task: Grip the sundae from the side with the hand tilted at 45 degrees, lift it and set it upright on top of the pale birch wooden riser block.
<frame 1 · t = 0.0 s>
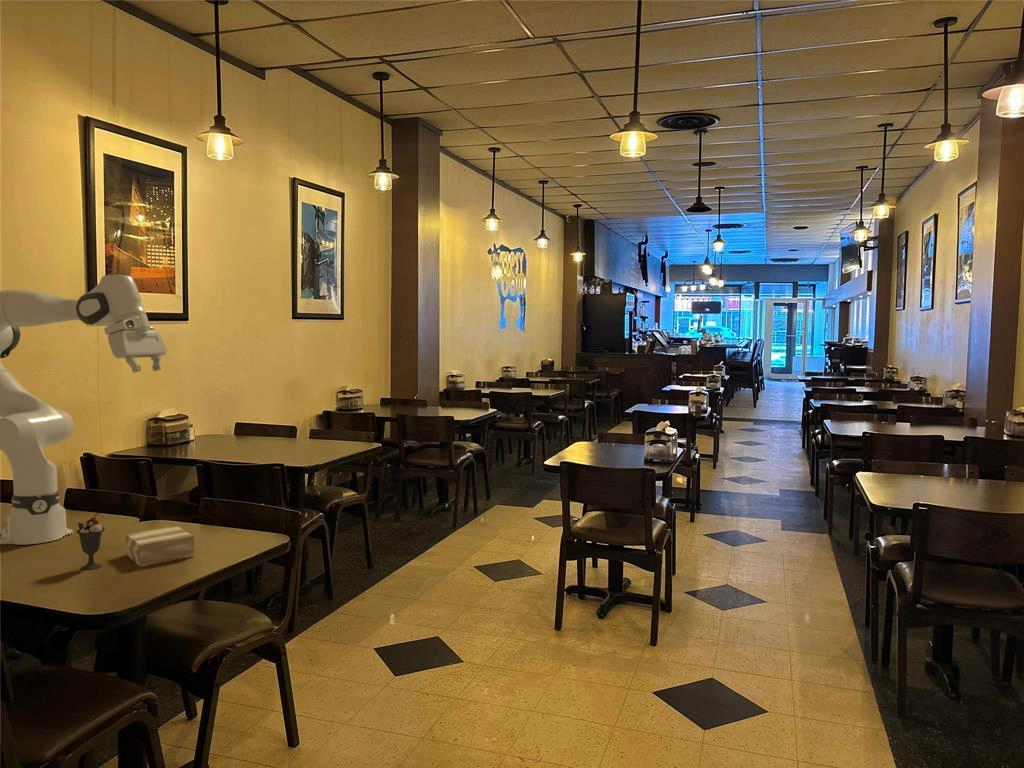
hand: (147, 371, 211), 52 cm above the table, tool tilted 20°, fingers open, 8 cm apart
riser: (159, 555, 204), on the table
sundae: (91, 567, 193), on the table
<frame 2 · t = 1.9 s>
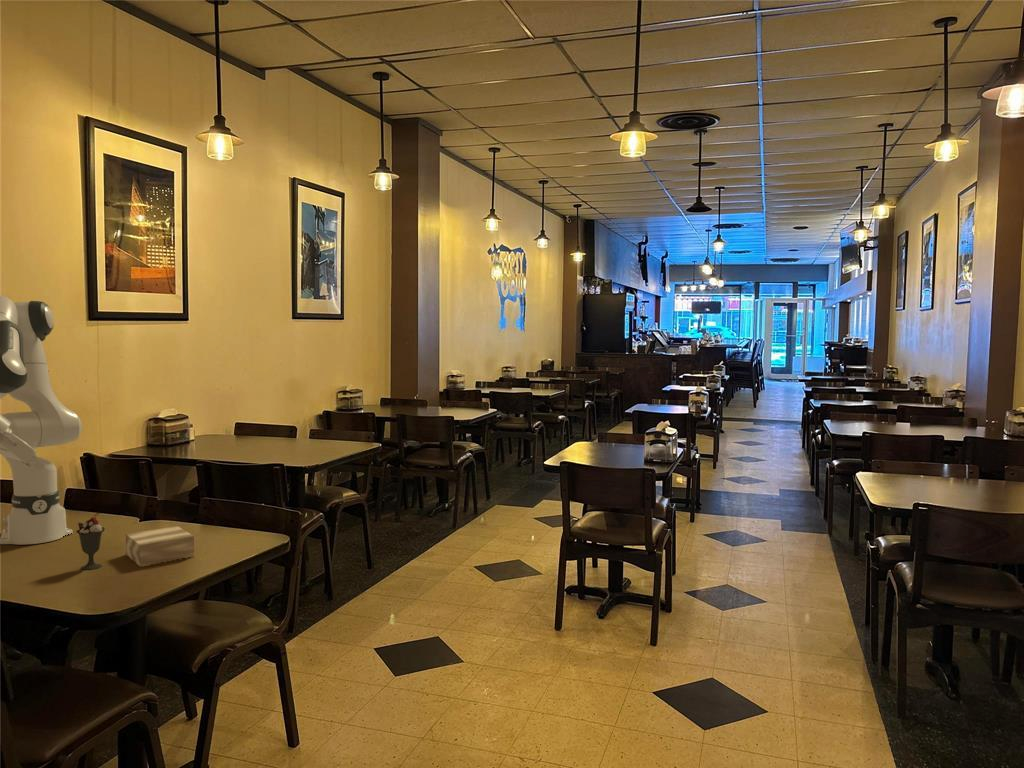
hand: (36, 466, 185), 28 cm above the table, tool tilted 45°, fingers open, 8 cm apart
nothing on the table moved.
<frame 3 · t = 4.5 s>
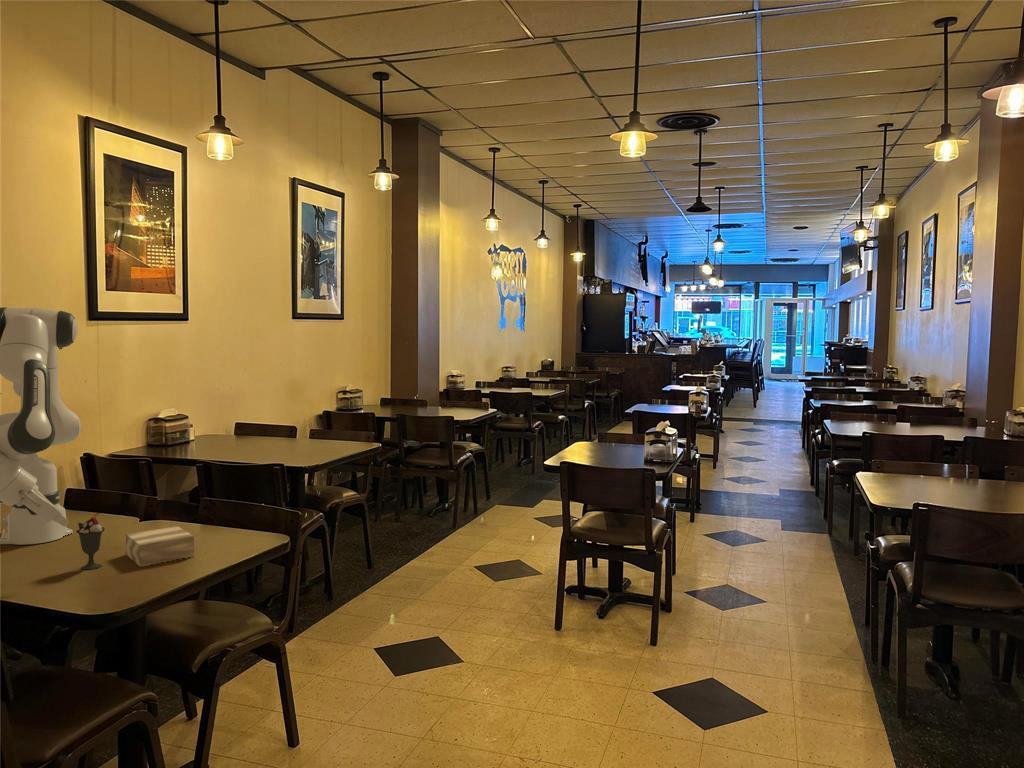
hand: (63, 520, 188), 14 cm above the table, tool tilted 45°, fingers open, 8 cm apart
nothing on the table moved.
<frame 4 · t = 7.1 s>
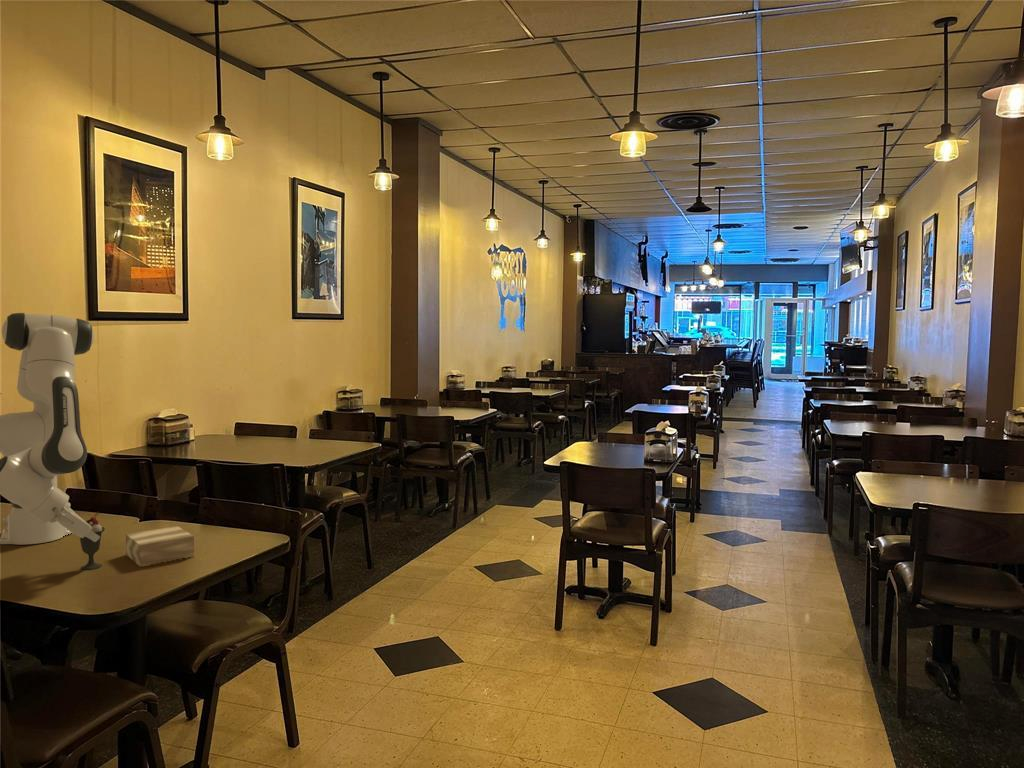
hand: (93, 536, 193), 8 cm above the table, tool tilted 45°, fingers closed on sundae, 6 cm apart
sundae: (91, 567, 193), on the table, touching gripper
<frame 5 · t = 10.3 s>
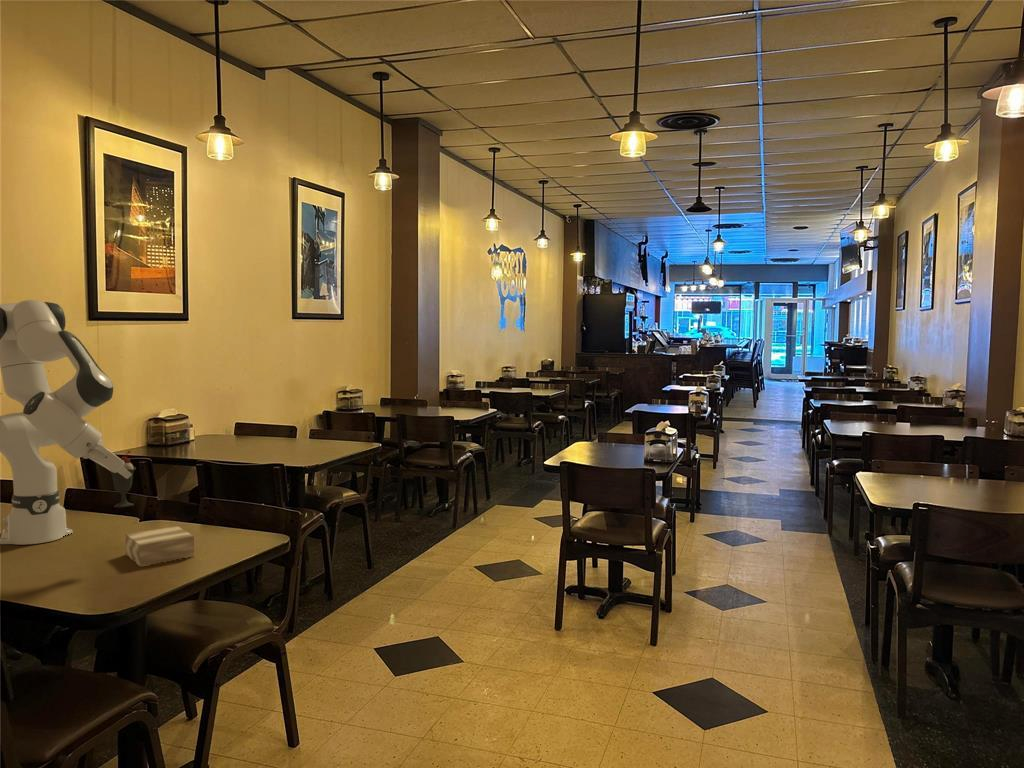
hand: (125, 474, 197), 24 cm above the table, tool tilted 45°, fingers closed on sundae, 6 cm apart
sundae: (124, 506, 197), point 16 cm above the table, touching gripper
when the fingers open (16 cm above the table, at t = 14.0 s): sundae drops 1 cm, resting on riser.
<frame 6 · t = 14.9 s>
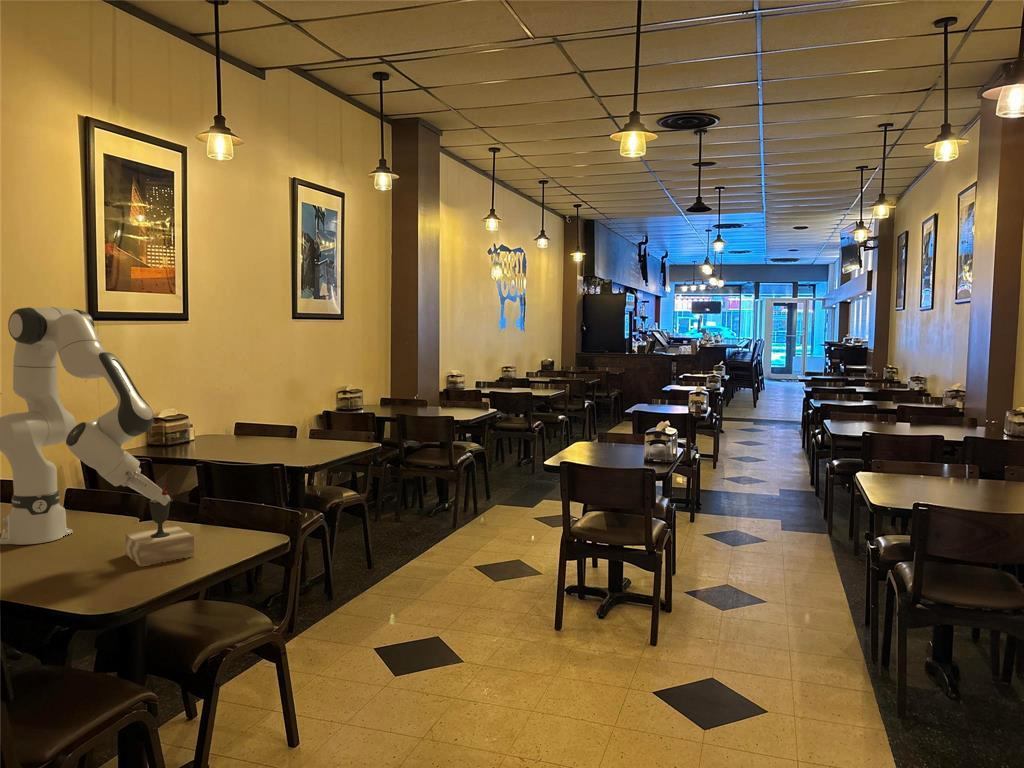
hand: (161, 500, 203), 16 cm above the table, tool tilted 45°, fingers open, 8 cm apart
sundae: (160, 536, 203), point 6 cm above the table, touching gripper, riser
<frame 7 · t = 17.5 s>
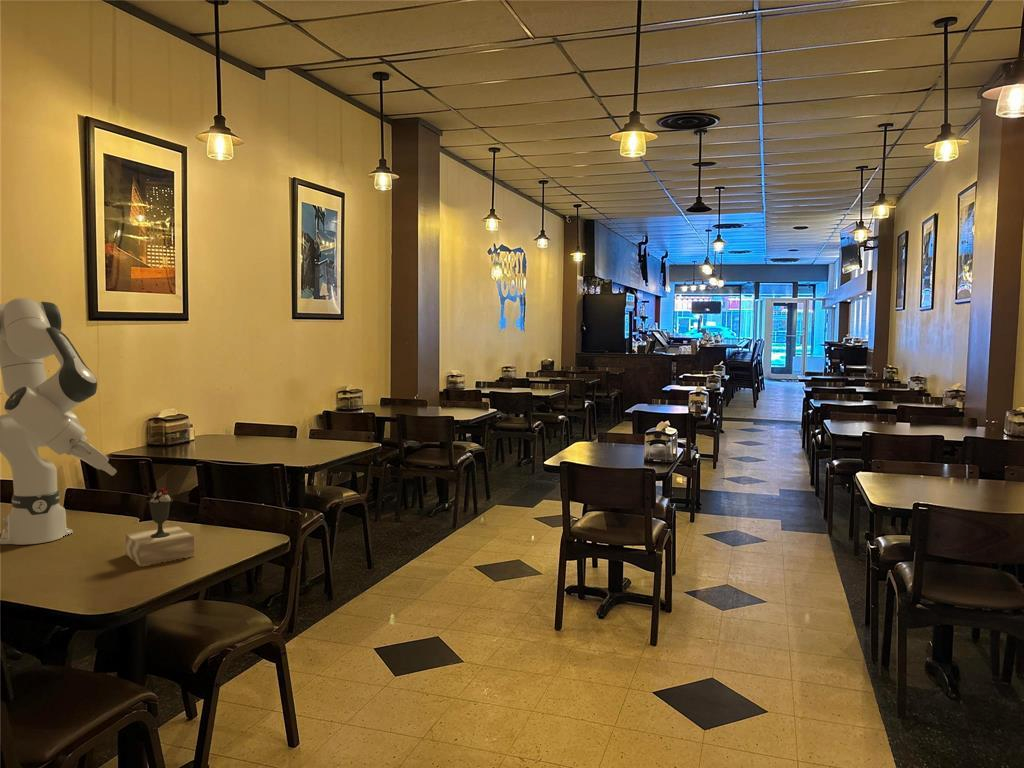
hand: (109, 470, 194), 26 cm above the table, tool tilted 45°, fingers open, 8 cm apart
sundae: (160, 536, 203), point 6 cm above the table, touching riser
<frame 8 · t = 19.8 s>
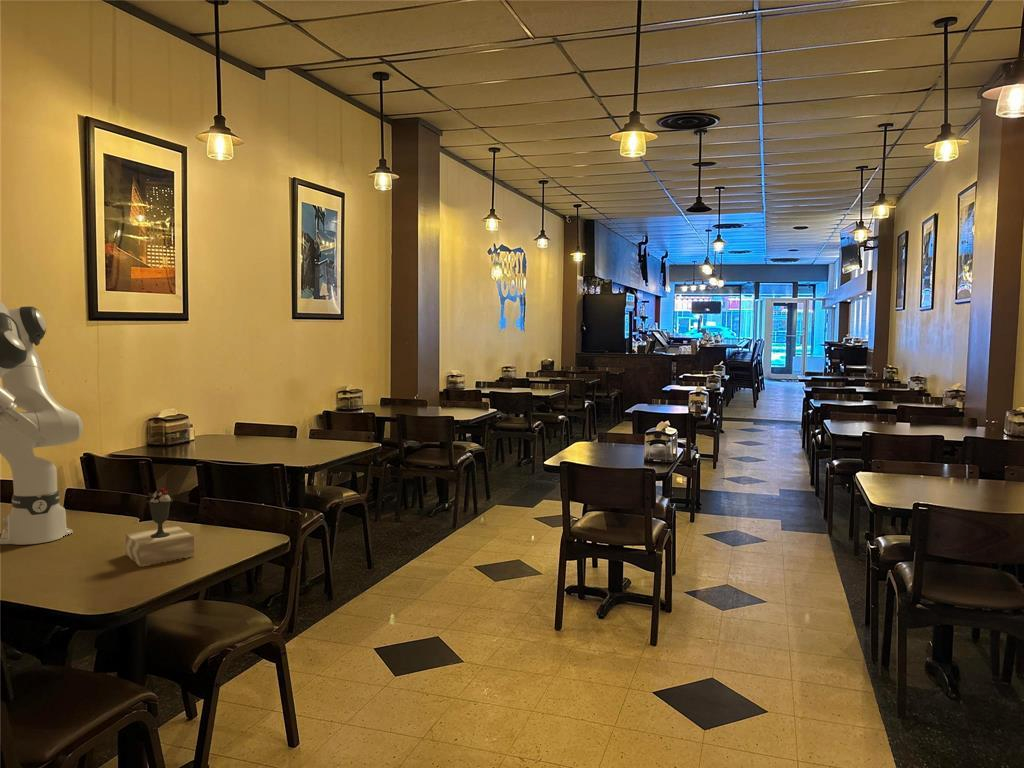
hand: (41, 440, 191), 34 cm above the table, tool tilted 45°, fingers open, 8 cm apart
nothing on the table moved.
at the end: sundae inside the target area on the riser (0.7 cm from its centre), point 5.8 cm above the riser's base; sundae tilted 0°; the gripper is holding nothing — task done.
